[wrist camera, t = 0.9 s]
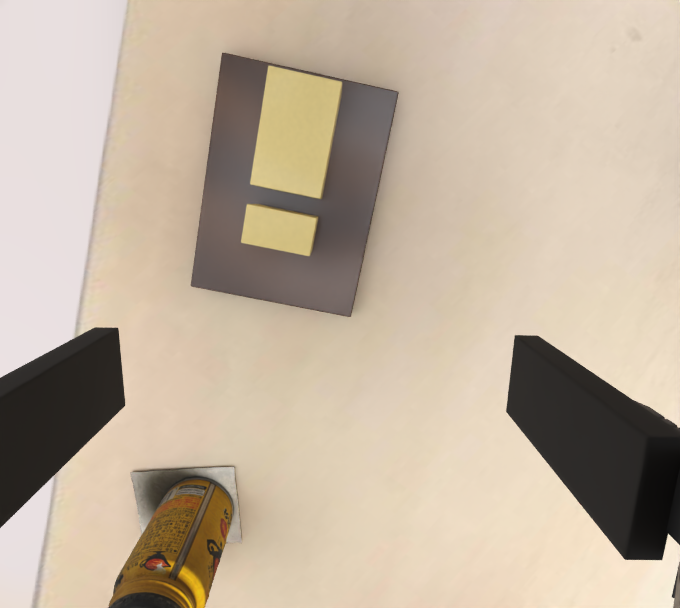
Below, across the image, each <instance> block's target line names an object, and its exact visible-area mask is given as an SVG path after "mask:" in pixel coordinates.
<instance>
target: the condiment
mask: <svg viewBox="0 0 680 608" xmlns="http://www.w3.org/2000/svg"><path fill="white" fill-rule="evenodd" d="M130 473H131V478H132V482H133V487H134V492H135V498H136V502H137V509H138V514H139V523H140V529H141V533H142V535H141V537H140V539H139V541H138V542H137V544H136V546H135V548H134V549H133V551H132V553H131V555H130V556H129V558H128V560H127V561H126V563H125V565H124V567H123V568H122V570H121V572H120V574H119V575H118V577H117V580H116V582H115V585H114V591H113V597H112V599H111V601H110V603H109V608H205V604H206V602H207V599H208V597H209V592H210V589H211V586H212V583H213V580H214V576H215V573H216V570H217V567H218V564H219V562H220V558H221V555H222V552H223V549H224V546H225V544H226V543H232V542H234V543H236V542H238V543H242V538H241V528H240V517H239V507H238V498H237V489H236V483H235V473H234V467H211V468H194V469H191V468H190V469H179V470H163V471H148V472H130Z"/></svg>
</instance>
